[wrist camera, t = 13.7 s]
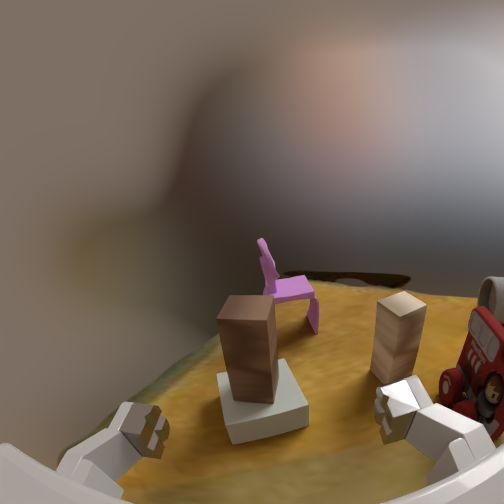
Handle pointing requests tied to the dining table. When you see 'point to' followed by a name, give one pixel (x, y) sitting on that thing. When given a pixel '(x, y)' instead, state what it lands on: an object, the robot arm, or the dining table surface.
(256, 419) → the pedestal block
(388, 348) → the maple block
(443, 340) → the dining table surface
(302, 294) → the toy chair
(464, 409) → the toy fire truck
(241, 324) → the walnut block
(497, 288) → the ceramic mug
